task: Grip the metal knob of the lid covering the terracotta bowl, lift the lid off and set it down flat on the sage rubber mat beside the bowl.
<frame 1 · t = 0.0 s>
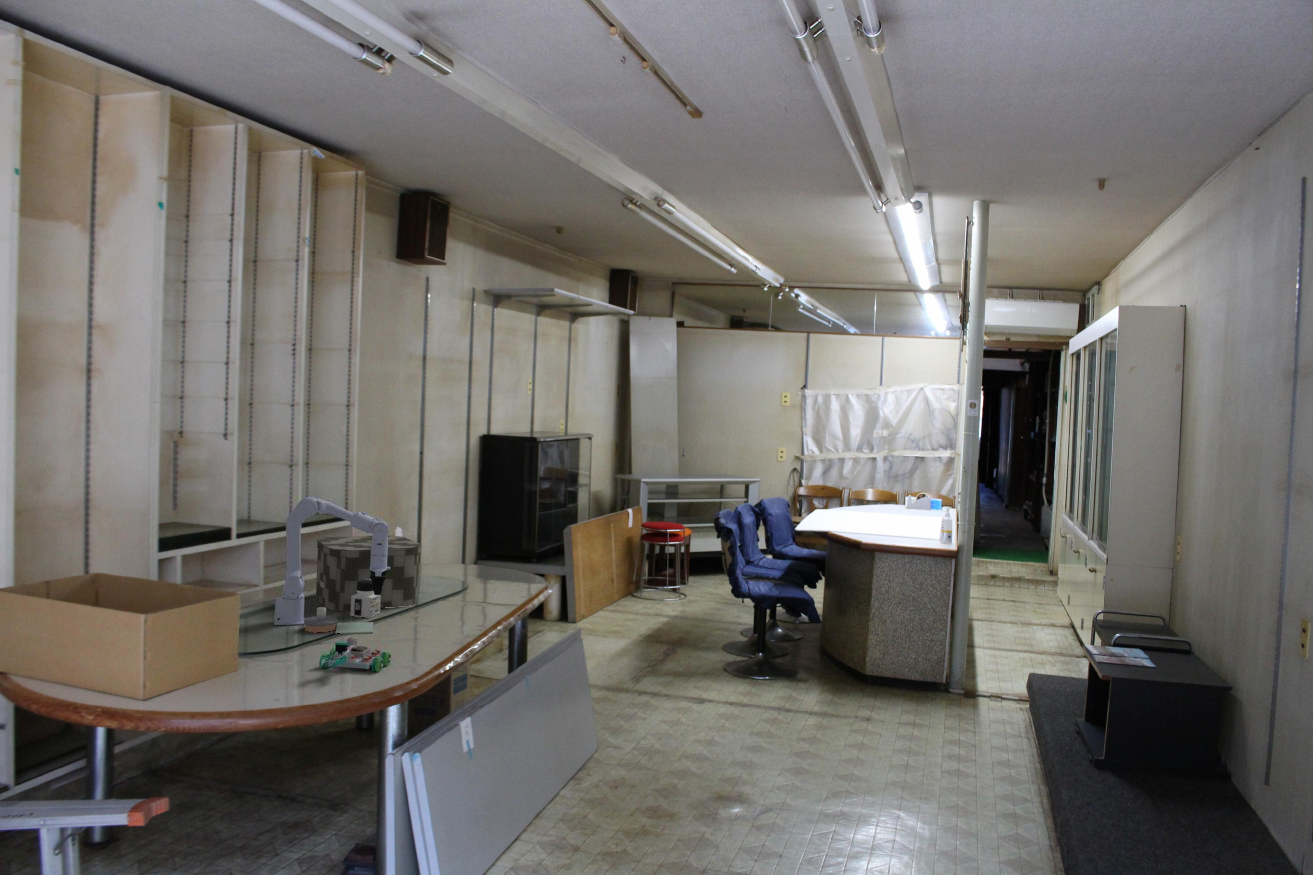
hand: (377, 592, 321), 10 cm above the table, tool pointing down, fingers open, 7 cm apart
robot kit: (349, 672, 261), on the table
lid: (321, 622, 305), point 2 cm above the table, touching bowl
bowl: (320, 629, 305), on the table
container: (365, 615, 329), on the table
storage box: (366, 601, 354), on the table
mat: (354, 628, 309), on the table
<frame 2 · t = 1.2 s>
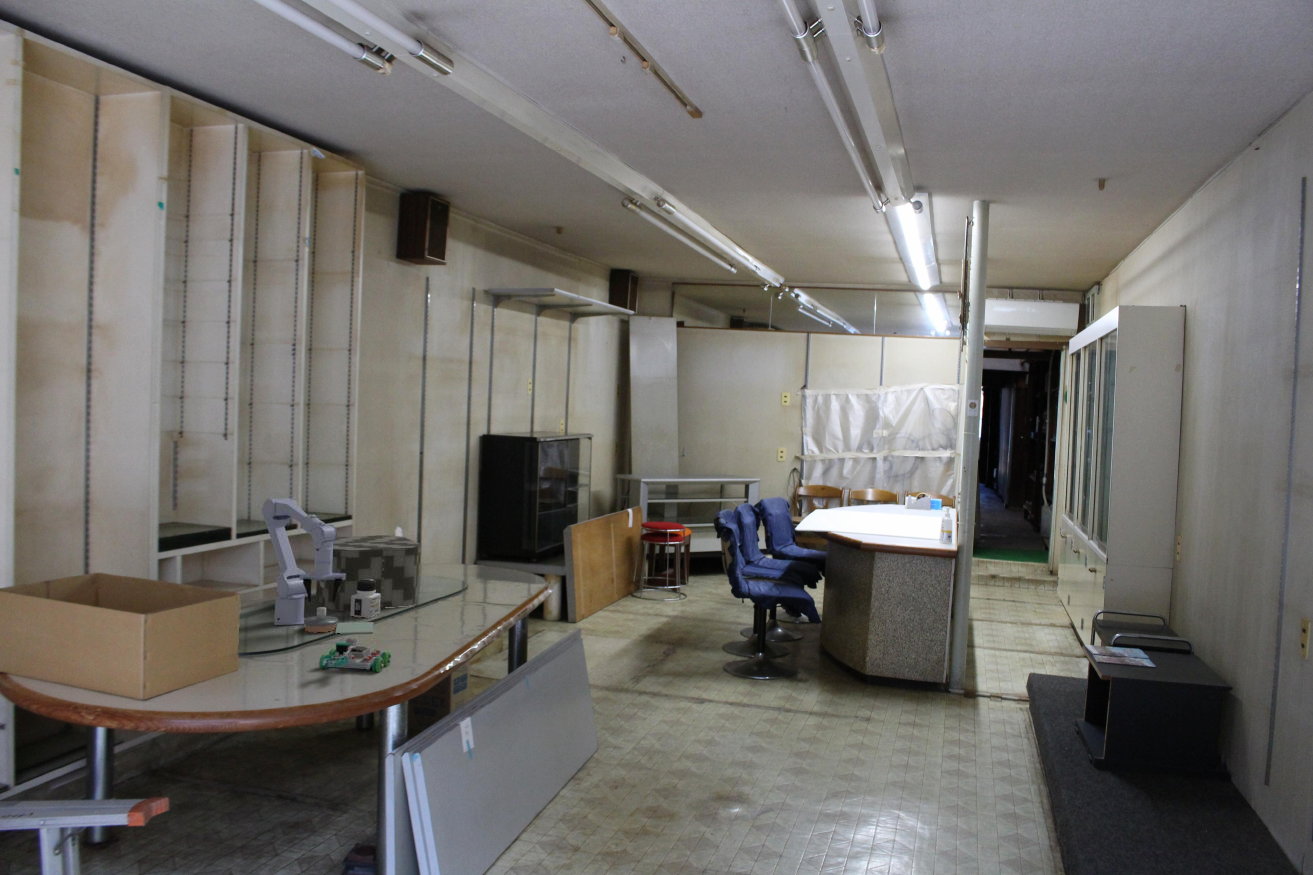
hand: (321, 600, 305), 10 cm above the table, tool pointing down, fingers open, 7 cm apart
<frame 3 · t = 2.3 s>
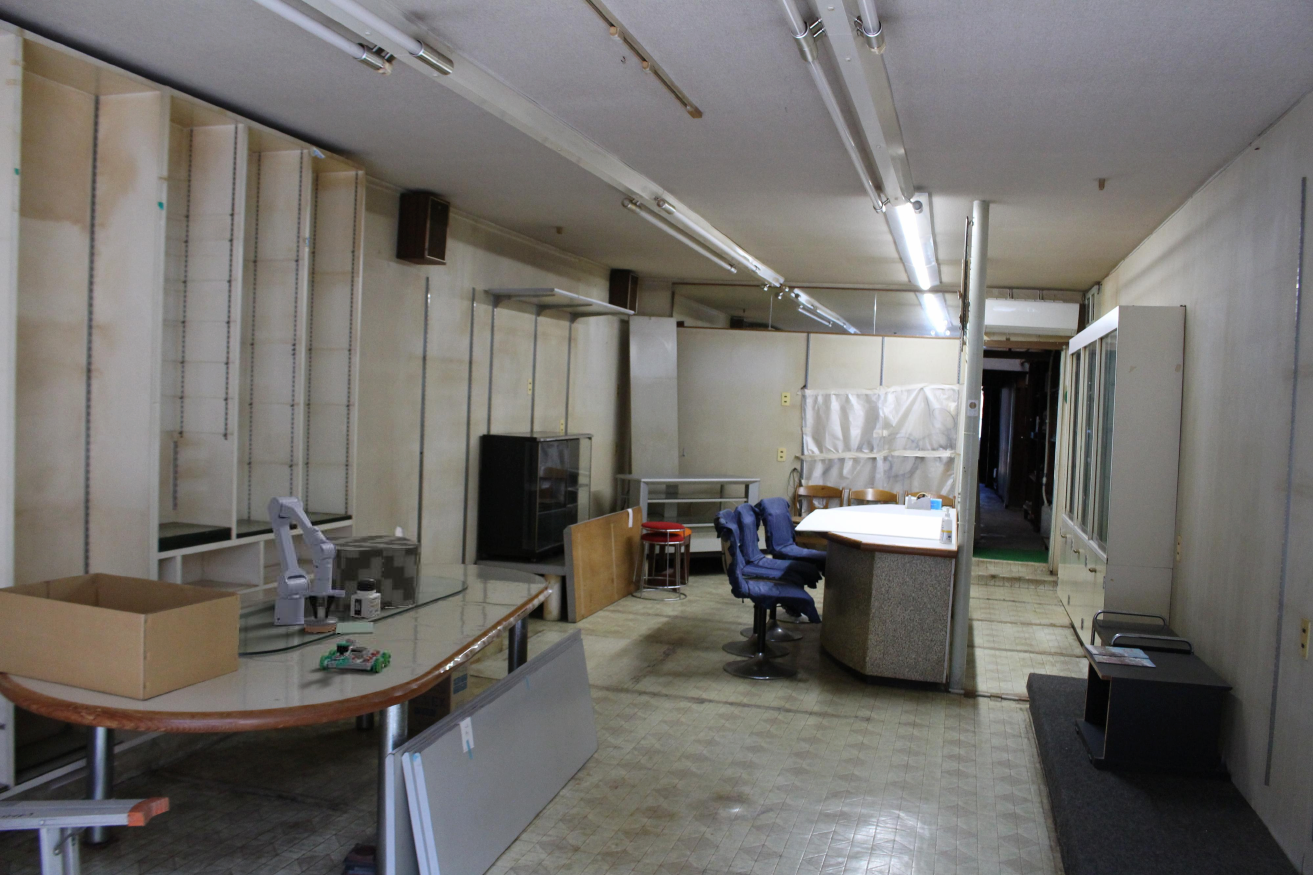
hand: (321, 617, 305), 4 cm above the table, tool pointing down, fingers closed on lid, 3 cm apart
lid: (321, 622, 305), point 2 cm above the table, touching bowl, gripper
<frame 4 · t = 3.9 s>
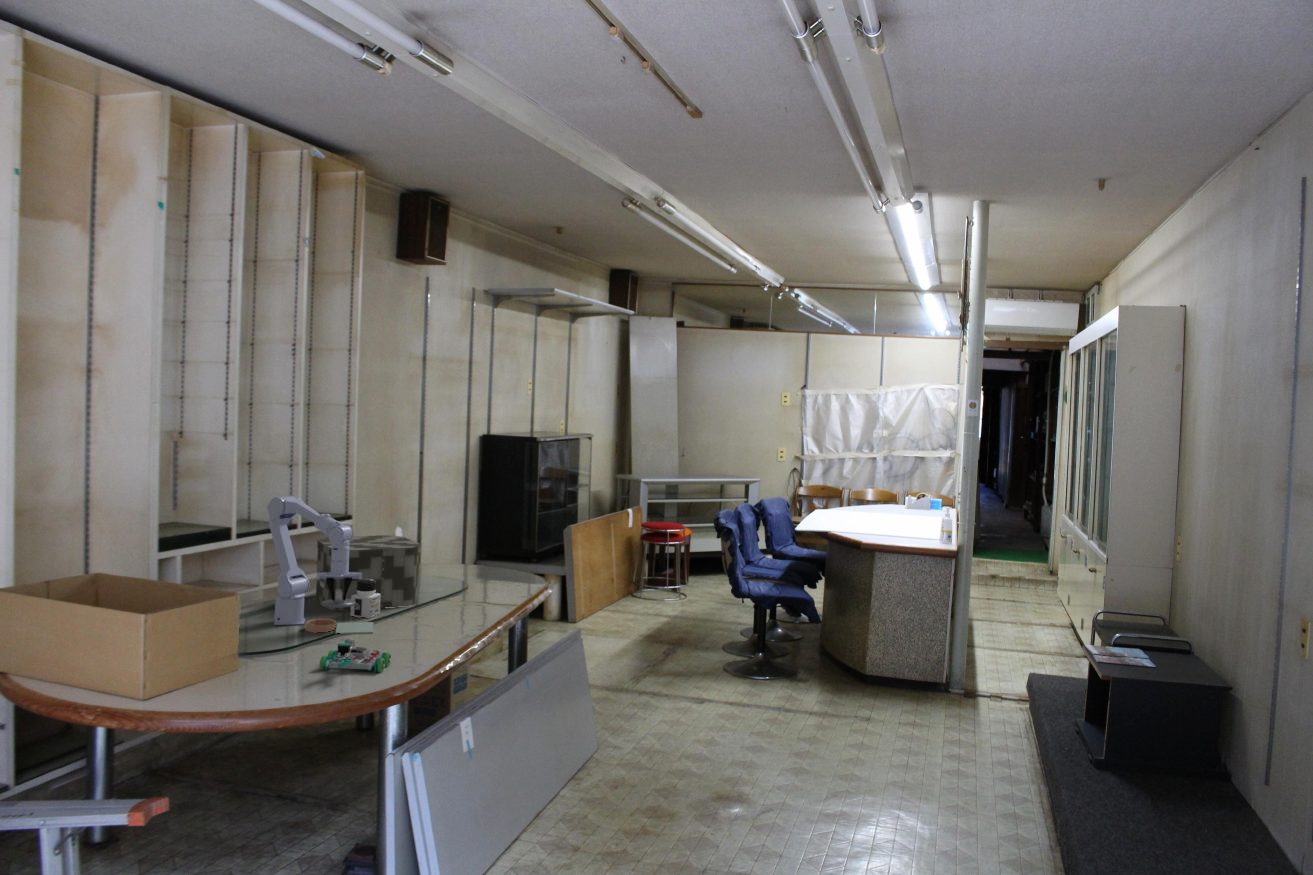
hand: (338, 599, 307), 10 cm above the table, tool pointing down, fingers closed on lid, 3 cm apart
lid: (338, 604, 307), point 9 cm above the table, touching gripper
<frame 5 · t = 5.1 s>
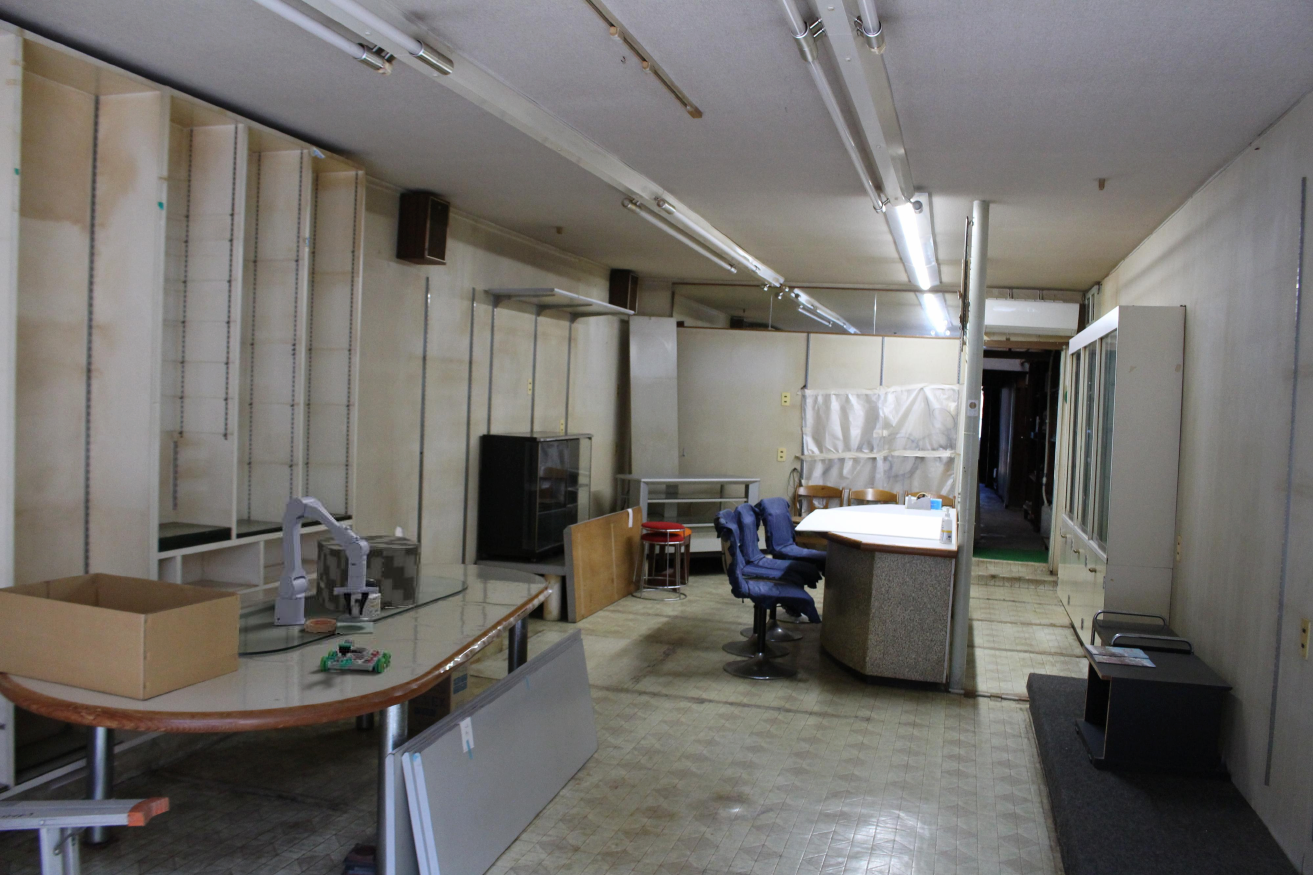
hand: (355, 614, 309), 5 cm above the table, tool pointing down, fingers closed on lid, 3 cm apart
lid: (355, 619, 309), point 3 cm above the table, touching gripper
when the fingers open (3 cm above the table, at t = 5.7 s): lid drops 1 cm, resting on mat.
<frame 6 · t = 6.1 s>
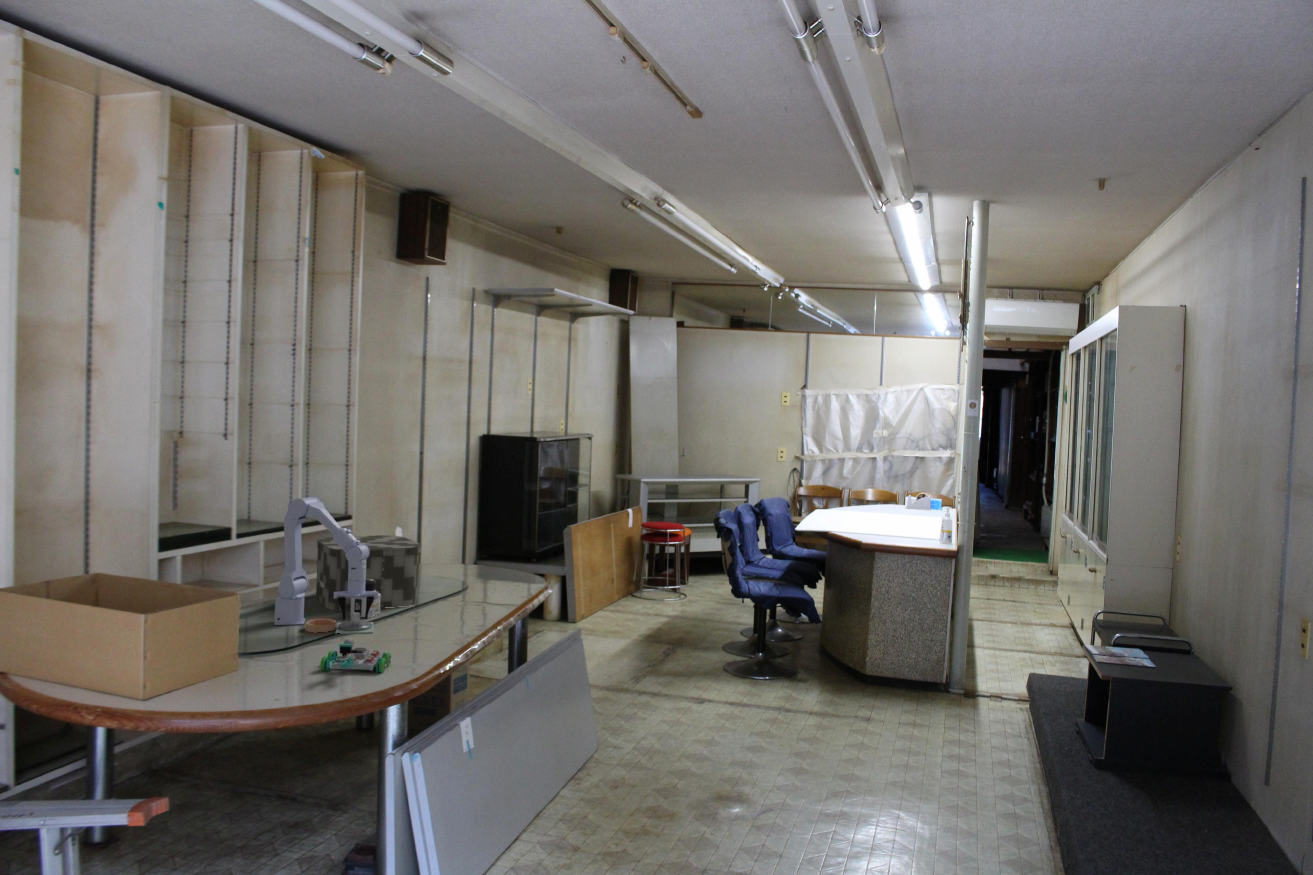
hand: (355, 618, 309), 3 cm above the table, tool pointing down, fingers open, 6 cm apart
lid: (354, 627, 309), resting on mat
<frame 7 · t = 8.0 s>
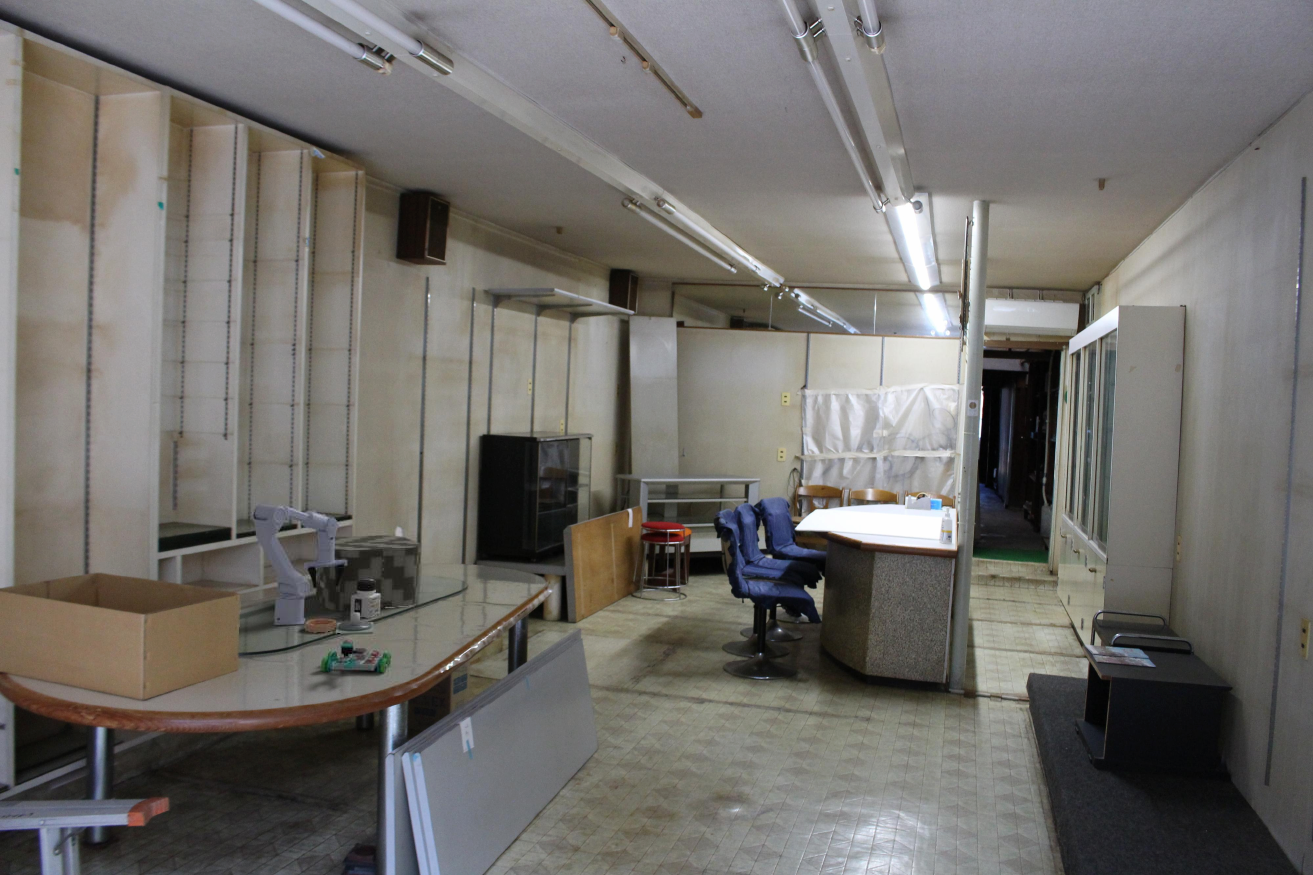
hand: (325, 586, 326), 10 cm above the table, tool pointing down, fingers open, 7 cm apart
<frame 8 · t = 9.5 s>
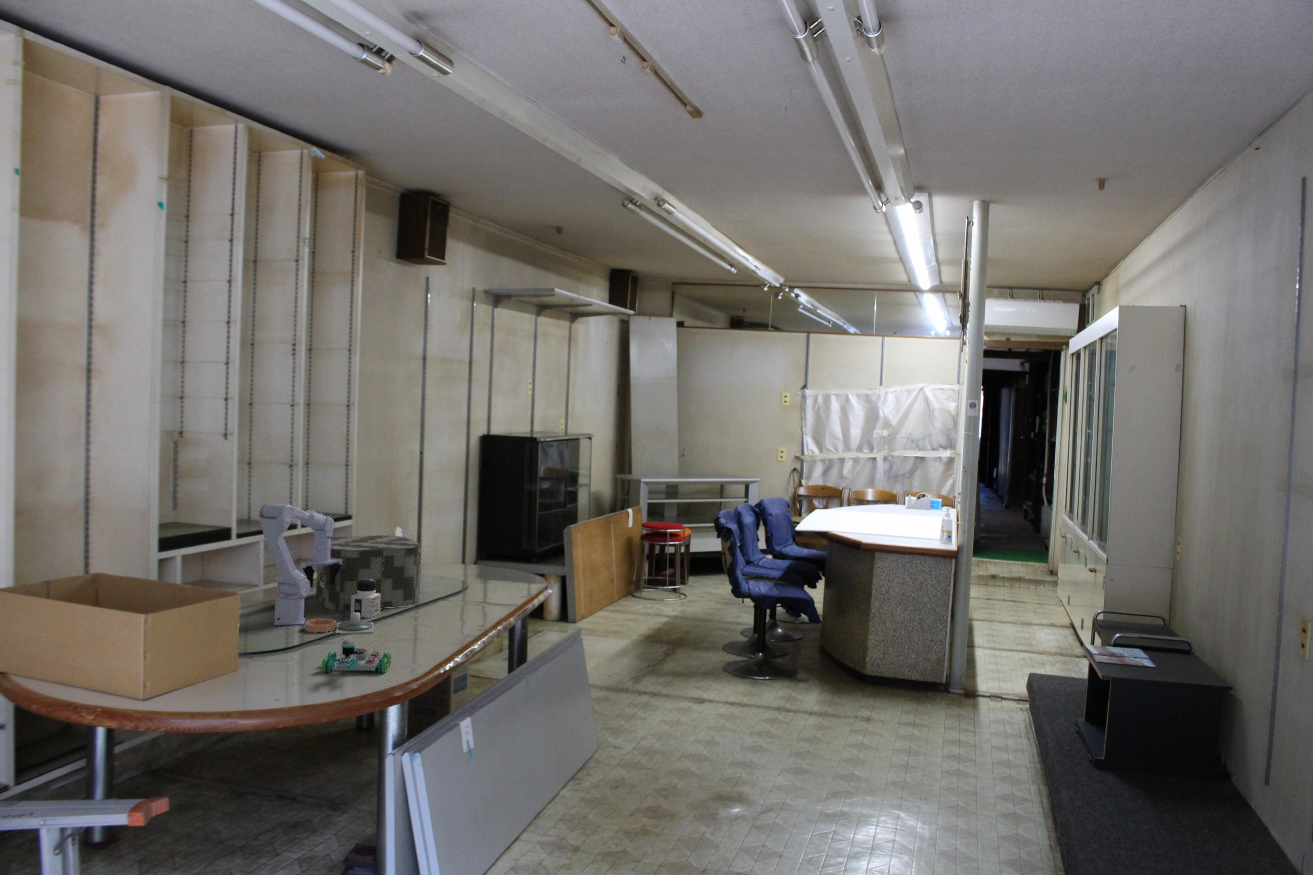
hand: (321, 585, 327), 10 cm above the table, tool pointing down, fingers open, 7 cm apart
at the end: lid inside the target area on the mat (0.1 cm from its centre), point 0.5 cm above the mat's base; lid tilted 1°; the gripper is holding nothing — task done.
